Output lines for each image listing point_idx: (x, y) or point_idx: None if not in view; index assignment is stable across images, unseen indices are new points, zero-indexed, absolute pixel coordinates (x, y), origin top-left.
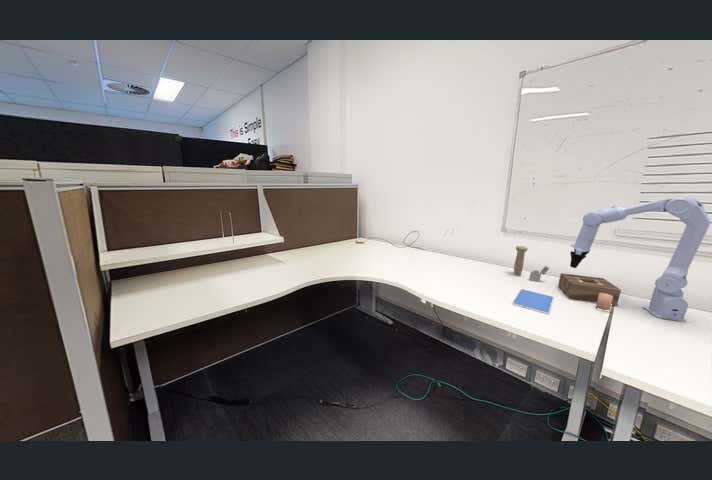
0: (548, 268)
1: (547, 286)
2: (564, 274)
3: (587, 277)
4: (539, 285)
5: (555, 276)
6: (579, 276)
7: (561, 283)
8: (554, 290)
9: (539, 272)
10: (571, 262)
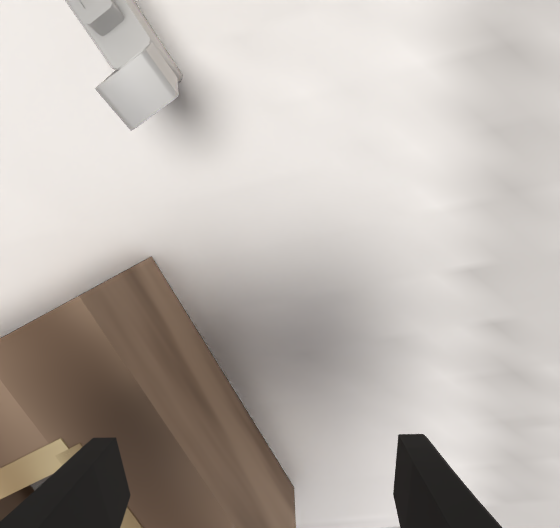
0: (125, 120)
1: (77, 190)
2: (59, 340)
3: (181, 524)
4: (36, 131)
5: (479, 164)
6: (140, 467)
7: (68, 301)
8: (26, 258)
9: (145, 37)
10: (17, 519)
